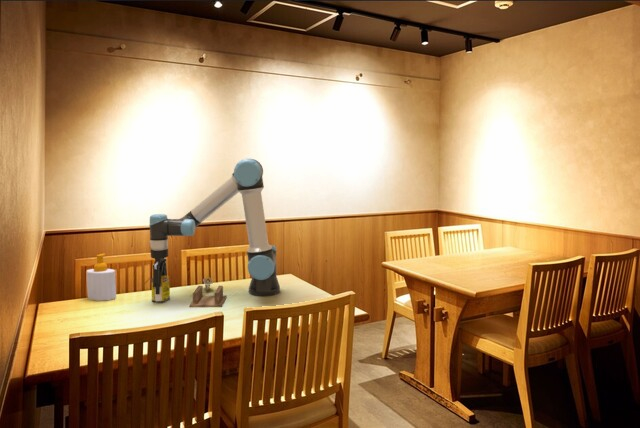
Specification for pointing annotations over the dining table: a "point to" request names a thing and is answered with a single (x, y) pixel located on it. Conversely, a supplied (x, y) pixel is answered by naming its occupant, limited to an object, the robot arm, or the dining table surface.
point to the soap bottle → (101, 281)
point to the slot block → (208, 298)
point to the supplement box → (165, 289)
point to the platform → (207, 283)
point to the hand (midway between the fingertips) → (161, 298)
